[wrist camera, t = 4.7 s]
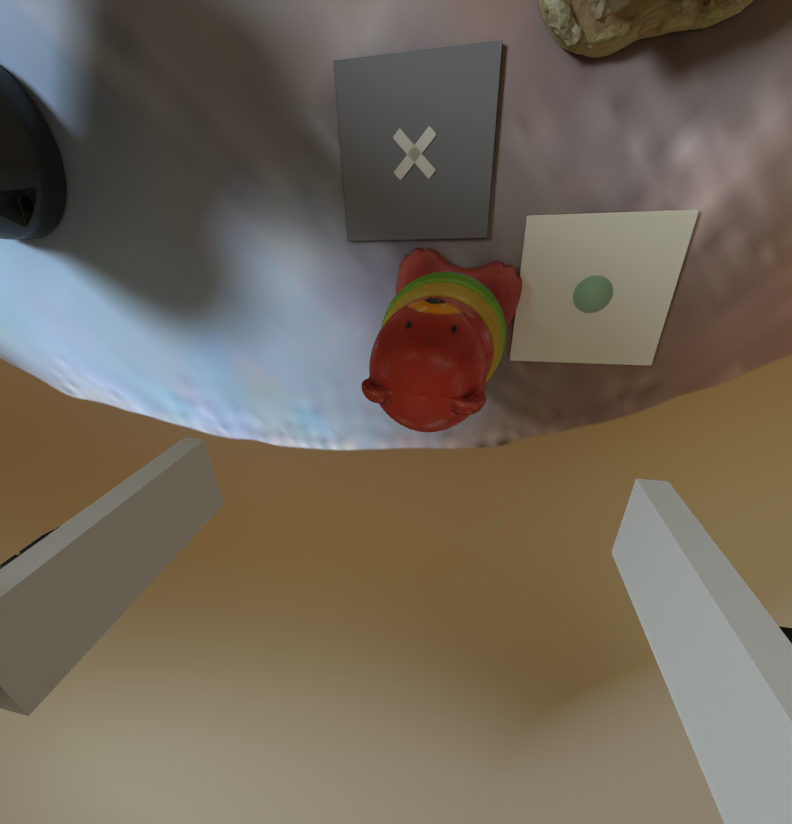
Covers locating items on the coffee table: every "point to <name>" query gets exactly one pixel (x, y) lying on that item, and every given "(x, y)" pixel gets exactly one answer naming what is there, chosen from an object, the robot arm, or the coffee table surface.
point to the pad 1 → (418, 141)
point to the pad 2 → (598, 285)
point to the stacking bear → (441, 340)
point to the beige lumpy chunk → (628, 20)
